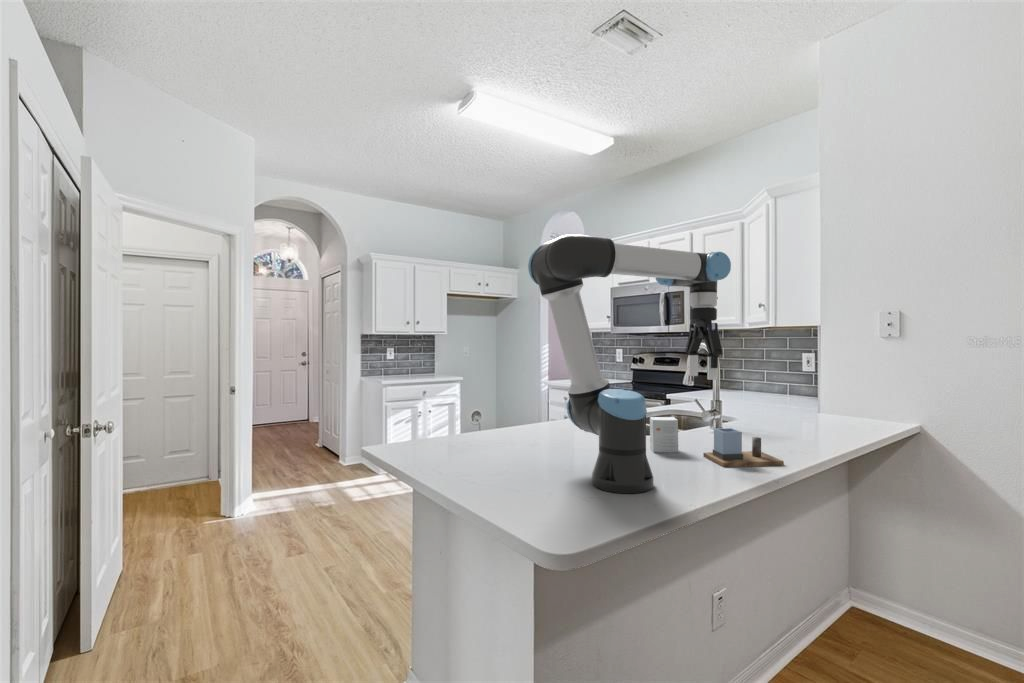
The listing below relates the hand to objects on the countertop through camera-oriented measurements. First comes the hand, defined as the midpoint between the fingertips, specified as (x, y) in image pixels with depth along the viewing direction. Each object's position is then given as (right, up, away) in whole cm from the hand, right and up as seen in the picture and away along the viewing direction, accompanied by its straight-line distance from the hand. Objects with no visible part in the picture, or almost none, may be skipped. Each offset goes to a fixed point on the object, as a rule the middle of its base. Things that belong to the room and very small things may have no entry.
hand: (702, 377), depth 149 cm
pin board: (+11, -24, -3) cm, 27 cm away
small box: (-8, -25, +11) cm, 28 cm away
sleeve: (+6, -23, -3) cm, 24 cm away
